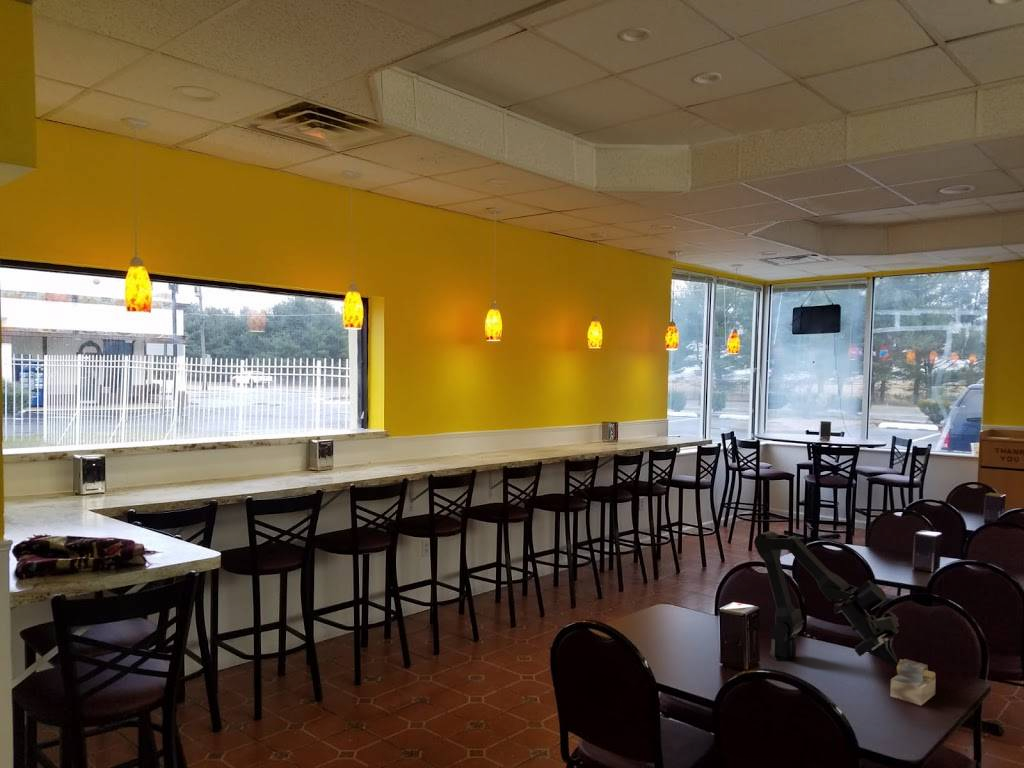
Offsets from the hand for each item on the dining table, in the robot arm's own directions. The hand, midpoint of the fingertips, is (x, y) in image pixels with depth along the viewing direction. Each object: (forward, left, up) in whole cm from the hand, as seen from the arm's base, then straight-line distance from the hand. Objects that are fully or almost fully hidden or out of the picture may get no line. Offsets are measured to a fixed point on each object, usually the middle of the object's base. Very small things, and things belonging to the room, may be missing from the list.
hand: (898, 666), depth 217 cm
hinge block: (+3, -3, -7) cm, 8 cm away
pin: (+3, -3, -2) cm, 5 cm away
